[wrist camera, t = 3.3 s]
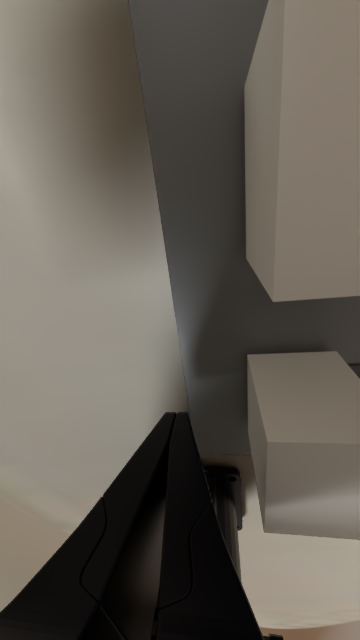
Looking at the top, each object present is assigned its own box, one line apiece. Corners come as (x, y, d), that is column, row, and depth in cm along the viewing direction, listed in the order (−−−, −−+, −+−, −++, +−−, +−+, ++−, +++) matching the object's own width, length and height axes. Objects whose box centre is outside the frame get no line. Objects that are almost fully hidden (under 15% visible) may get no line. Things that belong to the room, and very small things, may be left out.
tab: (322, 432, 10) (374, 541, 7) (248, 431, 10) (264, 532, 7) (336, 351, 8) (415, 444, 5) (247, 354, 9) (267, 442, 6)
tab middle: (354, 247, 7) (482, 287, 4) (245, 258, 7) (272, 301, 4) (388, 56, 5) (681, -189, 2) (244, 87, 6) (287, -69, 2)
